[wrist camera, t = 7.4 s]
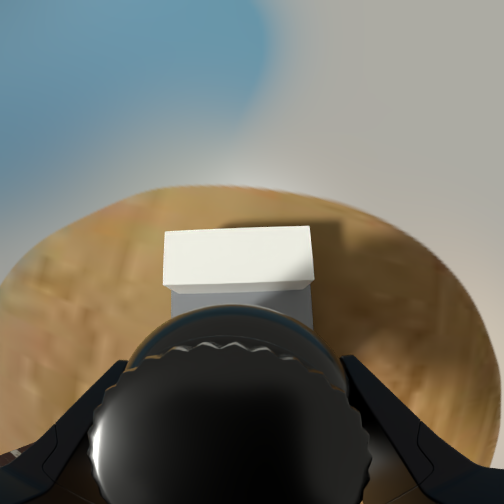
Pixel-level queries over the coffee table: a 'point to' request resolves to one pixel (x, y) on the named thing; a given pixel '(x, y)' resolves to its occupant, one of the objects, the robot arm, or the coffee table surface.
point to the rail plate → (241, 269)
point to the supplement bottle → (230, 416)
